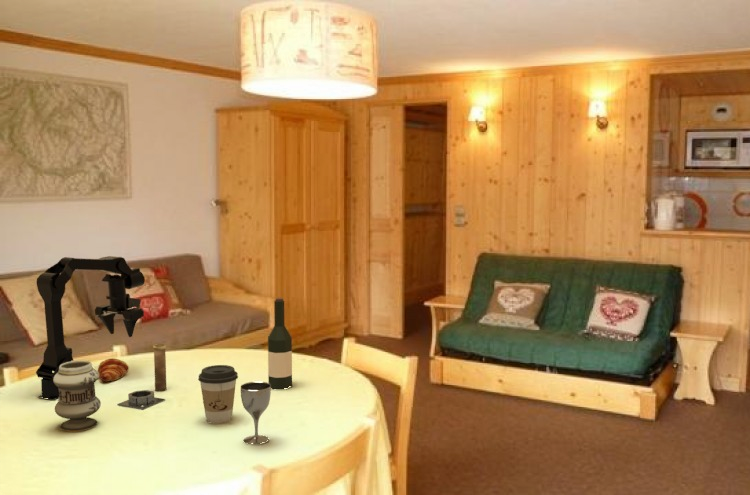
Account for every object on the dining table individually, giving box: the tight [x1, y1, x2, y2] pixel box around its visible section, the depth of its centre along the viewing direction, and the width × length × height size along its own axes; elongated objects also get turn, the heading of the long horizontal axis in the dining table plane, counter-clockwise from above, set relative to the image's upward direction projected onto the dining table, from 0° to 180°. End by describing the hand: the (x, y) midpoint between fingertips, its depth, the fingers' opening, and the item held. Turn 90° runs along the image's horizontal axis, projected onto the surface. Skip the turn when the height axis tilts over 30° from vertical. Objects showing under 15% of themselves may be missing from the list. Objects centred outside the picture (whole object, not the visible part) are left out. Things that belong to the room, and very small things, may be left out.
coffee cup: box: [197, 364, 239, 425], centre depth 208 cm, size 11×11×15 cm
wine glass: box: [240, 381, 272, 445], centre depth 192 cm, size 8×8×15 cm
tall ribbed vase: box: [152, 343, 168, 392], centre depth 236 cm, size 4×4×15 cm
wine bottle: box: [267, 297, 293, 390], centre depth 239 cm, size 8×8×30 cm
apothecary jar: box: [53, 360, 102, 433], centre depth 202 cm, size 12×12×18 cm
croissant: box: [97, 357, 130, 382], centre depth 252 cm, size 21×10×8 cm, turn 8°
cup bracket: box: [117, 389, 166, 411], centre depth 223 cm, size 10×10×3 cm
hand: (121, 335), depth 252 cm, fingers open, 9 cm apart
